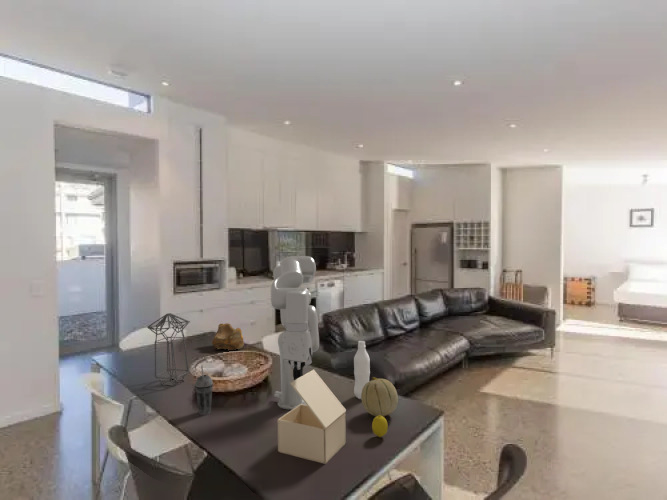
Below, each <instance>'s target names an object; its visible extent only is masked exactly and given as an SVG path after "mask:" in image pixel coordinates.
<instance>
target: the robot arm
mask: <svg viewBox="0 0 667 500" xmlns="http://www.w3.org/2000/svg"><path fill="white" fill-rule="evenodd" d="M316 266H317V265H316V262H315V259H314V258H313V257H312V256H308V255H300V256H299V255H297V256H296V255H295V256H287V257H285V258H283V259H282V260H281V261H280V265H277V266H275V268H274V269H273V273H272V274H273V275H272V276H273V282H272V283H271V286H270V302H271V306H272V307H273V308H274V309H276V310H279V311H280V312H279V313H280V322H281V325H282V327H284V328H285V330H283V332H280V334H278V337H277V343H278V352H279V359H280V360H279V361H280V391H278V390H276V391H275V392H274V396H273V397H274V398H277V399H278V400H277V406H278V407H279V408H280V409H283V410H293V409H294V408H296V407H297V406H298V405H300V404H303V405H306V403H305V402H304V401H303V399H302V398H301V397H300V396H299V394H298V393H297V392H296V390H295V389H294V388H293V386H292V385H291V384H290V383H291V382H292V381H294V380H296V379H298V378H299V377H301V376H303V375H304V368H305V366H309V365H311V364H312V363H313V361H312V358H313V353H315V352H316V351H318V350H319V349H320V348H319V347H320V335H319V334H320V333H319V320H318V312H317V311H318V310H317V308H316V307H315V306H314V305H311V301H312V296H311V295H312V294H311V292H310V290H309V289H308V288H307V287H301V286H302V285H306V284H311V283H312V282H313V281H314V278H315V275H316V271H317V267H316Z"/></svg>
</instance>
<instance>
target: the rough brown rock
mask: <svg viewBox="0 0 667 500" xmlns="http://www.w3.org/2000/svg"><path fill="white" fill-rule="evenodd" d="M217 327H218V328H217V331H216V333H215V334H214V337H213V339H212V341H211V344H212V346H213V348H214V349H215V348H219V349H218V350H221V349H222V350H226V349H229V350H233V351H237V350H236V349H238V350H240V349H242V348H243V347H244V345H245V343H244V342H245V341H244V337H243V332H242V329H241V328H239V327H237V328H234V327H233V326H232V325H231V323H228V322H227V323H219V324H218V325H217ZM229 350H228V351H229Z"/></svg>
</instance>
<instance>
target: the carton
mask: <svg viewBox="0 0 667 500" xmlns="http://www.w3.org/2000/svg"><path fill="white" fill-rule="evenodd" d="M276 425H277V453H280V454H284V455H288V456H293V457H296V458H301V459H304V460H308V461H312V462H316V463H320V464H324V465H326V464H327V463H328V462H329V461H330V460H332V458H333V457H334V456H336V454H337V453H338V452H339V451H340V450H341V449H342V448H343V447H344V446H345V445H346V444H347V436H346V435H347V433H346V432H347V431H346V428H347V427H346V411H345V412H344V413H343V414H342V415H341V416H339V417H338V418H337V419H336V420H335V421H334V422H332V423H331V424H330V425H329V426H328V427H326V428H324V427H323V426H322V424H321V423H320V422H319V420H318V419H317V418H316V416H315V415H314V414H313V413H312V411H311V410H310V409H309V407H308V406H307V405H303V404H300V405H298V406H297V407H296V408H294V409H290V411H288V412H287V413H285V414H284V415H282V416H281V417H279V418H278V419H277V424H276Z"/></svg>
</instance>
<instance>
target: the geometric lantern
mask: <svg viewBox="0 0 667 500" xmlns="http://www.w3.org/2000/svg"><path fill="white" fill-rule="evenodd" d="M180 320H181V321H180ZM157 322H158V323H157ZM165 323H168V324H167V325H168V326H167V327H164V325H165ZM190 323H191V321H190V320H188V319H186V318H183V317H180V316H177V315H176V314H173V313H171V312H169V313H166V314H164V315H163V316H161V317H160V318H159V319H157V320H155V321H154V322H152V323H151V324H149V325H147V329H149V331H151V332H152V333H154V334H155V341H154V378H155V379H157V380H159V381H160V382H161V383H164V382H166V383H172V385H175V383H177V382H178V381H180V380H183V379H184V380H185V377H186V376H187V375H188V374H189V373H190V368H189V362H188V361H189V360H188V355H187V351H186V350H187V349H186V348H187V347H186V341H185V339H186V337H185V334H184V329H185V328H186V327H187V325H189V324H190ZM154 324H156V325H154ZM171 326H172V327H171ZM169 329H173V330H174V331H173V332H172V334H171V336H167V335H166V333H165V332H167V331H168V330H169ZM158 332H160V333H158ZM179 333H181V335H182V336H177V334H179ZM174 334H175V335H174ZM158 335H162V336H163V338H160V339H158V340H157V338H158ZM172 338H173V339H172ZM175 338H177V339H178V340H175ZM169 339H170V341H169ZM162 340H165V341H166V342H163V341H162ZM174 340H175V341H174ZM179 341H183V342H182V343H183V348H184V355H185V356H184V357H185V365H186V369H178V368H177V367H176V357H175V349H174V344H175V343H177V342H179ZM157 344H166V360H167V361H166V368H167V369H166V370H164V371H162V372H160V373H157ZM170 349H171V350H170ZM170 351H171V353H170ZM171 361H172V363H171ZM171 365H172V367H171ZM177 371H179V372H180V371H182V372H183V371H184V373H182V374H180V375H178V374H177ZM174 372H175V375H173V373H174ZM164 373H168V376H167V377H162V376H161V377H160V375H162V374H164ZM169 379H171V380H169ZM172 379H176V380H172ZM177 379H178V380H177ZM168 380H169V381H168ZM161 383H160V384H161Z"/></svg>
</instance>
